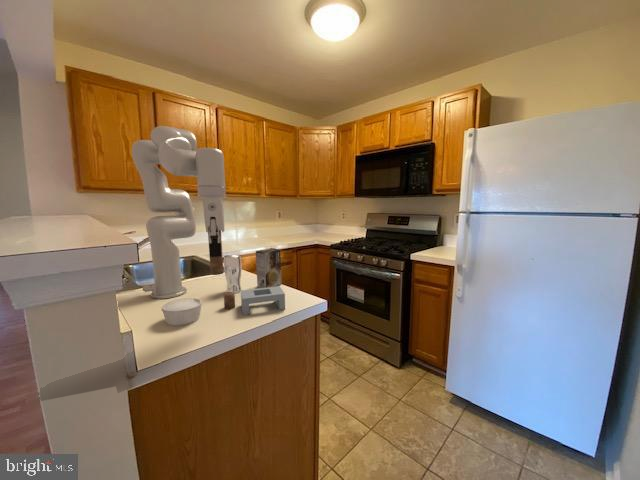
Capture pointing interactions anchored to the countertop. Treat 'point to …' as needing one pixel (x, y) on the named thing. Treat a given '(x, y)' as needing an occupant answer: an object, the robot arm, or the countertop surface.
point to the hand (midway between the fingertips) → (215, 254)
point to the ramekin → (182, 311)
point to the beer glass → (233, 272)
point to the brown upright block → (229, 300)
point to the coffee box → (268, 268)
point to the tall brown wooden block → (216, 260)
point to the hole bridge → (262, 297)
